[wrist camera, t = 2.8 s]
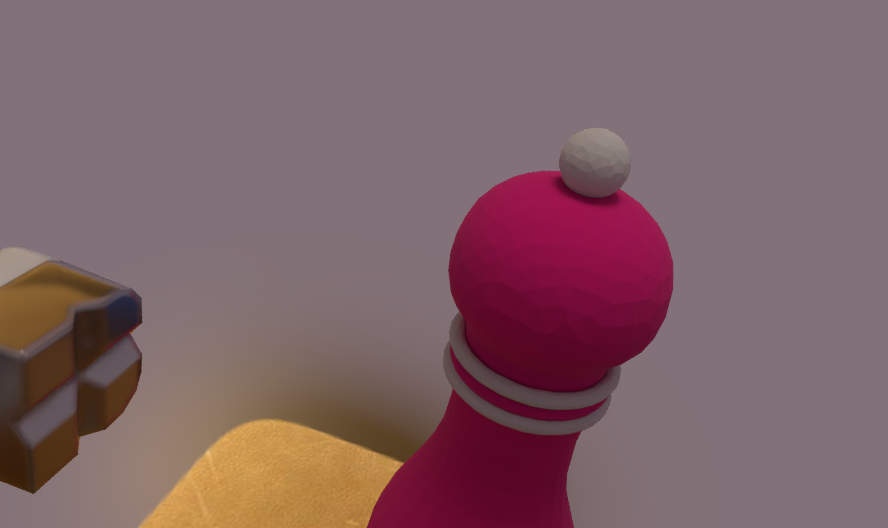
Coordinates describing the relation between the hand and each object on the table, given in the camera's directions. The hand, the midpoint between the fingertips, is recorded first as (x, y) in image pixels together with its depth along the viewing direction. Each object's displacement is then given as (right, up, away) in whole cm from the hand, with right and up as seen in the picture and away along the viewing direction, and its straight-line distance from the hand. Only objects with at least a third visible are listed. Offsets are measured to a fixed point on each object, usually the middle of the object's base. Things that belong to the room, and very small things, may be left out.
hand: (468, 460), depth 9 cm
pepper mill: (0, -12, +21) cm, 24 cm away
